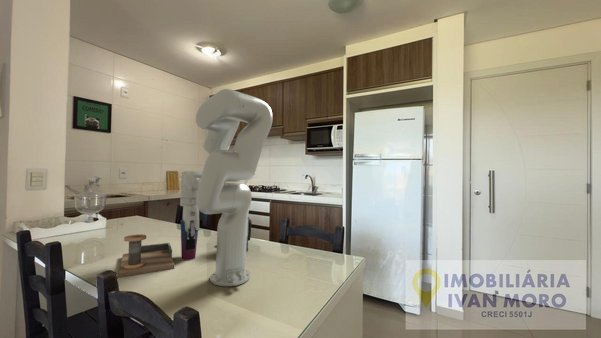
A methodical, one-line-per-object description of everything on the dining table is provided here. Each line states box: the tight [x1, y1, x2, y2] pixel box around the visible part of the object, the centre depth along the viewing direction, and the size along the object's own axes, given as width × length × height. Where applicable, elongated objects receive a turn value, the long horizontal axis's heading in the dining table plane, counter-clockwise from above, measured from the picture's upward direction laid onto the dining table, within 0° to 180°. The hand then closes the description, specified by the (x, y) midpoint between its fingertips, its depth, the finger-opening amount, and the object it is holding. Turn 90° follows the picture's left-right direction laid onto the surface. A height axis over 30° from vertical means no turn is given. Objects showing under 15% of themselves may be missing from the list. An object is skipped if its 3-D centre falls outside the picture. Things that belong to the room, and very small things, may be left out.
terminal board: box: [118, 233, 175, 278], centre depth 93 cm, size 20×16×12 cm
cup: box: [180, 219, 199, 261], centre depth 100 cm, size 7×7×15 cm
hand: (188, 246), depth 100 cm, fingers closed on cup, 6 cm apart
